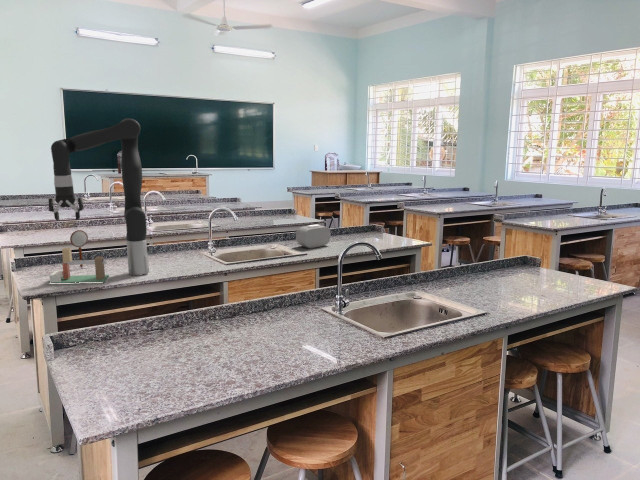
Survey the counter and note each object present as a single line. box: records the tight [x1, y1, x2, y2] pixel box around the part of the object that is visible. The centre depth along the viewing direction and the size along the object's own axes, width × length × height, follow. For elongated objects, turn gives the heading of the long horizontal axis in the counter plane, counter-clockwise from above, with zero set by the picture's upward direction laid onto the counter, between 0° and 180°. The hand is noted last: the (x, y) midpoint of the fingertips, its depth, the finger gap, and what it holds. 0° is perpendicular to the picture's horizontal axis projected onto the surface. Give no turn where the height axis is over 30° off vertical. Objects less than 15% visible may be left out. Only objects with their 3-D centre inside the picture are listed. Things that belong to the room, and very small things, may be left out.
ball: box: [55, 270, 64, 279], centre depth 240 cm, size 4×4×4 cm
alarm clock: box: [295, 224, 332, 249], centre depth 319 cm, size 21×10×13 cm, turn 130°
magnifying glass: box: [69, 229, 89, 269], centre depth 261 cm, size 9×2×20 cm, turn 137°
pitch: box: [49, 255, 110, 283], centre depth 241 cm, size 24×11×11 cm, turn 99°
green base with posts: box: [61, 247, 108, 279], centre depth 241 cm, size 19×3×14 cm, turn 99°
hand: (67, 220), depth 237 cm, fingers open, 8 cm apart
